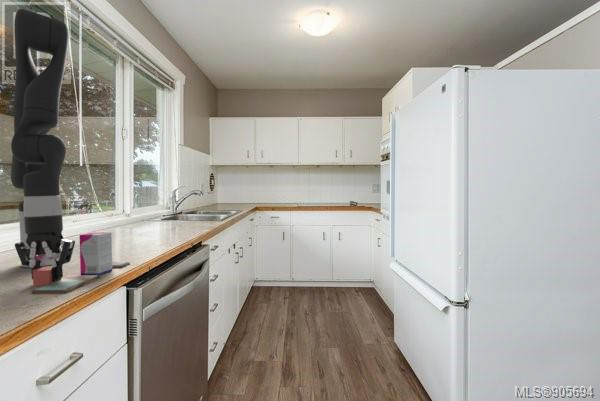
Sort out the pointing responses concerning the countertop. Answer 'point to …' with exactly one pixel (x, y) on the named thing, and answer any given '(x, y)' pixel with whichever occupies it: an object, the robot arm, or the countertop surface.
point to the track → (73, 281)
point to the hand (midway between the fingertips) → (47, 280)
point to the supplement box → (95, 253)
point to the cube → (42, 276)
